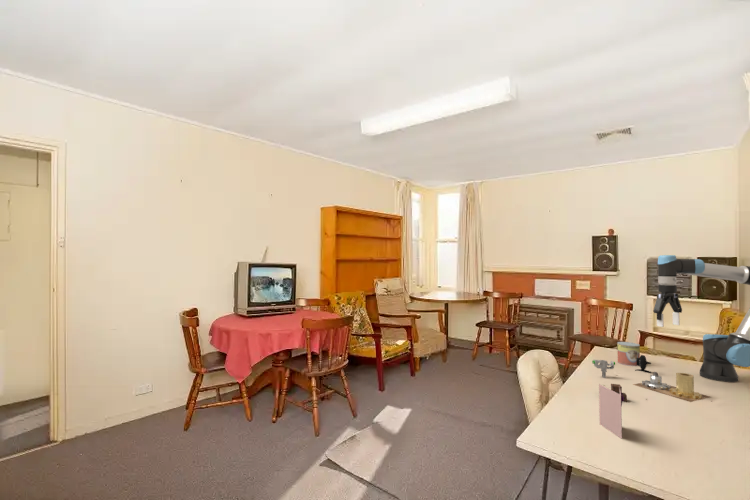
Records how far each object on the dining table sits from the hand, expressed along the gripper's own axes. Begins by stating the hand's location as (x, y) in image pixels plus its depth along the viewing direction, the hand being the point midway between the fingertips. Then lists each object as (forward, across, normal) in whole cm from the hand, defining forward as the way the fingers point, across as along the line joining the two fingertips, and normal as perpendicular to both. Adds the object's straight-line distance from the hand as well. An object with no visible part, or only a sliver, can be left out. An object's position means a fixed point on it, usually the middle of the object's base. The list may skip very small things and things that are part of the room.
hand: (668, 325), depth 189 cm
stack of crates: (+30, -50, -5) cm, 58 cm away
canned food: (+29, +15, +30) cm, 44 cm away
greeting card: (+29, -83, -26) cm, 92 cm away
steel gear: (+27, -20, -5) cm, 34 cm away
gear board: (+29, -20, -11) cm, 37 cm away
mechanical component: (+29, -30, +14) cm, 44 cm away
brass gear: (+27, -20, -17) cm, 38 cm away
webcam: (+29, +2, +14) cm, 32 cm away
